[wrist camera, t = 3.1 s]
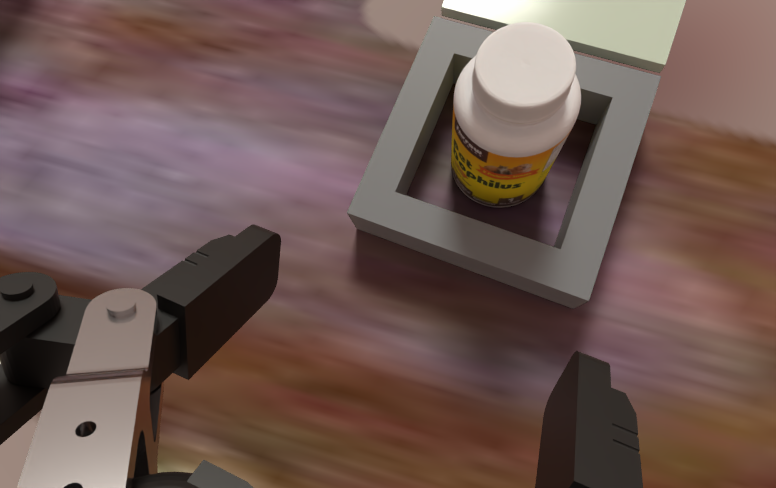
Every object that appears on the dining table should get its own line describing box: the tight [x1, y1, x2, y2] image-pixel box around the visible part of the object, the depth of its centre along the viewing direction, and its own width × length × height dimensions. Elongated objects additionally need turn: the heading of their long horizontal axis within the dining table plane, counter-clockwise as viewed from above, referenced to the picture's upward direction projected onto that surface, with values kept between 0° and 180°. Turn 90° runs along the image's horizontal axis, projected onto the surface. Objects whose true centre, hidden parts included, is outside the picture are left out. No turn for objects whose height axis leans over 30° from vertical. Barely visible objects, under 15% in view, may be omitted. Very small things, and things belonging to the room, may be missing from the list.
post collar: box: [347, 16, 661, 309], centre depth 28 cm, size 13×13×3 cm
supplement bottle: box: [451, 22, 581, 207], centre depth 24 cm, size 6×6×10 cm
